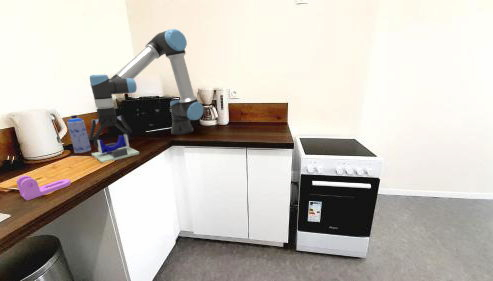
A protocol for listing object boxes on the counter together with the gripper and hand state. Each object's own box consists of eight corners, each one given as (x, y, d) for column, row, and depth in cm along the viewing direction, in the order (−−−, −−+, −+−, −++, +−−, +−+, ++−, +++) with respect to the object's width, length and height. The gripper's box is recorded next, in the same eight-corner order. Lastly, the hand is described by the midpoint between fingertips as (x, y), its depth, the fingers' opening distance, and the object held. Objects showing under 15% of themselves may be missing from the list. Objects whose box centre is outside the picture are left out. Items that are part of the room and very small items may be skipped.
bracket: (27, 201, 71) (20, 181, 69) (21, 196, 74) (14, 178, 72) (73, 184, 82) (68, 167, 80) (67, 181, 85) (62, 164, 83)
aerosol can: (93, 147, 127) (84, 113, 122) (88, 151, 120) (79, 115, 114) (77, 149, 125) (67, 115, 119) (72, 153, 117) (61, 117, 112)
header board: (126, 147, 125) (125, 140, 124) (139, 153, 113) (137, 146, 112) (92, 155, 113) (90, 148, 112) (102, 163, 101) (100, 155, 100)
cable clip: (102, 153, 108) (99, 141, 106) (99, 151, 110) (96, 140, 109) (127, 146, 117) (125, 136, 115) (123, 145, 119) (121, 135, 118)
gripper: (128, 104, 117) (135, 142, 123) (73, 110, 100) (84, 154, 106) (134, 105, 112) (141, 144, 118) (76, 111, 95) (88, 157, 101)
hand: (114, 149), depth 112 cm, fingers closed on cable clip, 12 cm apart
